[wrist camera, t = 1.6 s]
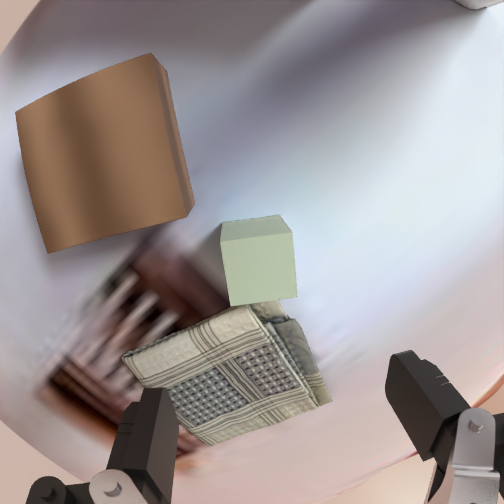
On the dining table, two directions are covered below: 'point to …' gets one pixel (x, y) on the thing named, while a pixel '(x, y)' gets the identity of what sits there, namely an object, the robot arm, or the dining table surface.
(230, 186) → the dining table surface
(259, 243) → the sage block
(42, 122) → the walnut base
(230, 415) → the dish towel
